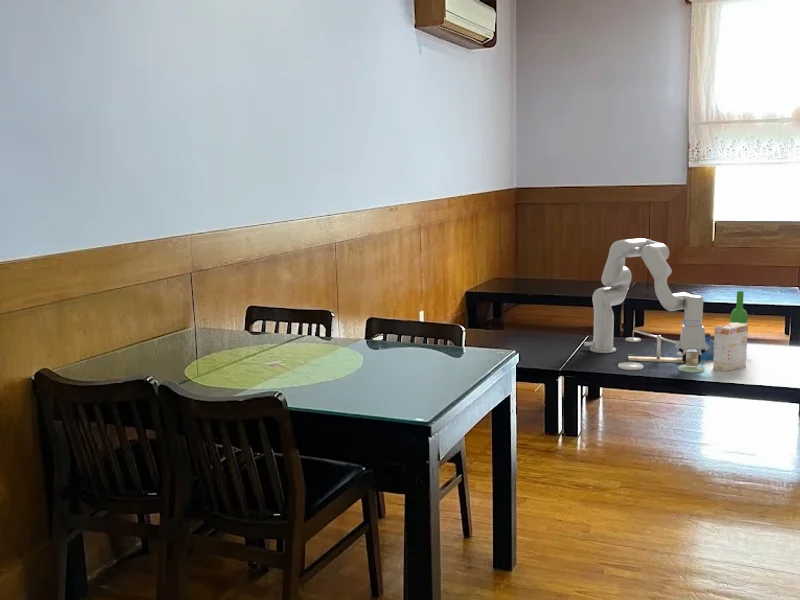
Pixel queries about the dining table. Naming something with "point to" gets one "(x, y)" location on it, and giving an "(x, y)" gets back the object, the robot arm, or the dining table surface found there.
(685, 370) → the sage dish
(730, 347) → the coffeecake box
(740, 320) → the wine bottle
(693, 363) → the birch block
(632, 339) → the balance scale
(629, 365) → the white dish
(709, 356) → the perfume bottle
